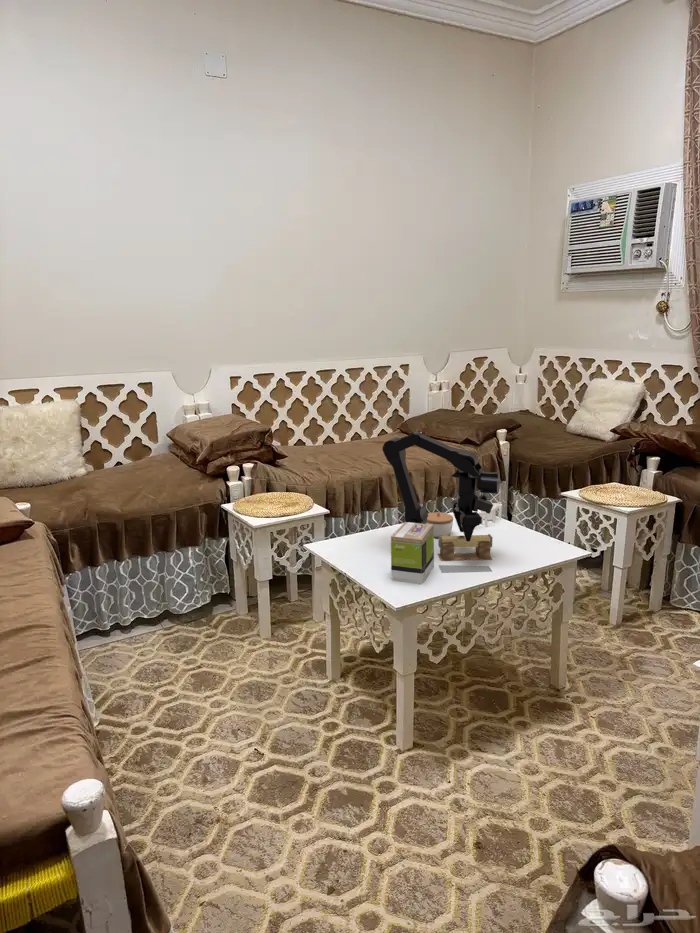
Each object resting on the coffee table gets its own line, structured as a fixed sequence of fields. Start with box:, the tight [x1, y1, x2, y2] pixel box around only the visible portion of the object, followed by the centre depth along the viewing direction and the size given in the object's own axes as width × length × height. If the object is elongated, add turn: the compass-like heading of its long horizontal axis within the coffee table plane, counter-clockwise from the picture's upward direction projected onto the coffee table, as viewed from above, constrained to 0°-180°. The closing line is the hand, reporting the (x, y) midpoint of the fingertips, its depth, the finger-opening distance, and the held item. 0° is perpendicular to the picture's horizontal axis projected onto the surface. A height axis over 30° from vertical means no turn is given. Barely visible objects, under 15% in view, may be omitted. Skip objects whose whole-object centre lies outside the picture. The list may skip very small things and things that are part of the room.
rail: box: [437, 533, 493, 550], centre depth 214 cm, size 17×3×3 cm, turn 93°
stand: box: [437, 543, 493, 562], centre depth 215 cm, size 17×6×6 cm, turn 93°
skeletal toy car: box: [474, 502, 503, 528], centre depth 249 cm, size 20×11×7 cm, turn 114°
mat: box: [438, 564, 493, 574], centre depth 207 cm, size 16×7×1 cm, turn 93°
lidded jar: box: [426, 511, 454, 539], centre depth 236 cm, size 11×11×9 cm
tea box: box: [390, 521, 435, 585], centre depth 202 cm, size 15×10×15 cm
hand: (465, 536), depth 214 cm, fingers open, 9 cm apart
